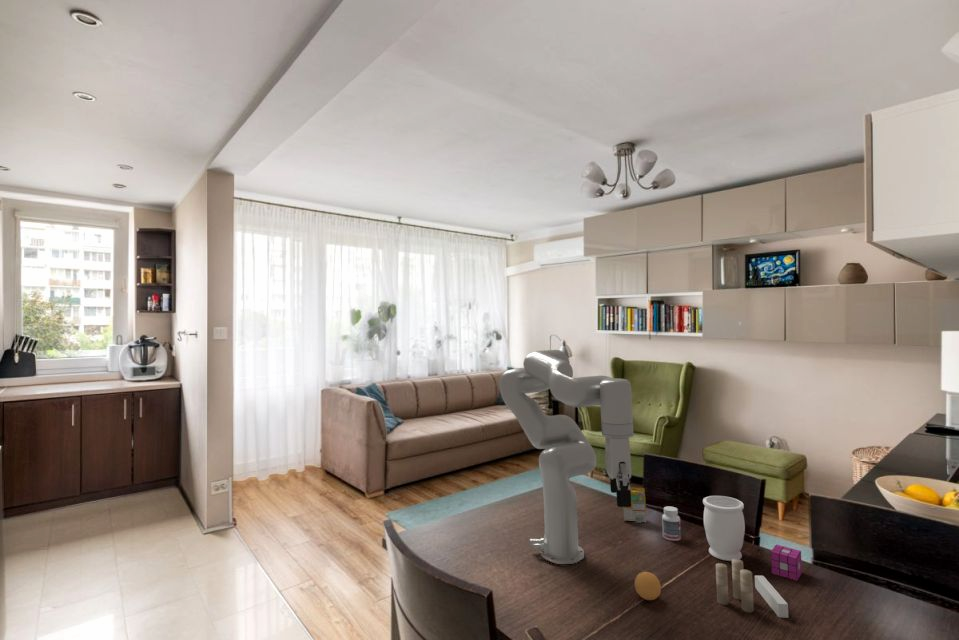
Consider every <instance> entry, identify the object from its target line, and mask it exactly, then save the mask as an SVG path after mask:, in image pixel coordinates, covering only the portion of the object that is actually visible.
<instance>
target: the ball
mask: <svg viewBox="0 0 959 640" xmlns="http://www.w3.org/2000/svg"><path fill="white" fill-rule="evenodd" d="M634 588H635V591H636V593H637V594H638V595H639V596H640V598H642V599H643V600H646V601H654V600H656V599H658V598H659V596H660V594H661V591H662V585H661V582H660V579H659V578H658V577H657V575H655V574H654V573H652V572H649V571H642V572H640V573H638V574H637V575H636V577H635V579H634Z"/></svg>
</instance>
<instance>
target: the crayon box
mask: <svg viewBox="0 0 959 640" xmlns="http://www.w3.org/2000/svg"><path fill="white" fill-rule="evenodd" d="M630 490H631V507H622V514H623V515H622V516H623V517H622V518H624V519H623V521H624V520H629V521H636V522H635V523H641V522H645V523H644V524H646V523H647V509H646V508H647V506H646V490H645V487H630Z"/></svg>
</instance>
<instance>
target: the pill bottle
mask: <svg viewBox="0 0 959 640" xmlns="http://www.w3.org/2000/svg"><path fill="white" fill-rule="evenodd" d="M678 513H679V509H678V508H677V507H674V506H664V507H663V514H662V516H661V523H662V537H663V539H666V540H667V541H671V542H672V541H673V542H675V541H680V540H682V530H681V529H682V528H681V517H680V516H679V514H678Z"/></svg>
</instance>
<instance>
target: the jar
mask: <svg viewBox="0 0 959 640" xmlns="http://www.w3.org/2000/svg"><path fill="white" fill-rule="evenodd" d="M702 504H703V505H704V508H703V509H704V510H703V527H704V532H705V537H706V540H707V543H708V545H709V546H710V547H709V548H708V553H709V554H710V555H711V556H712V557H714V558H716V559H718V560H722V561H726V562H727V561H728V562H732V559H739V560H741V559H742V557H743V554H742V552H741V550H742V548H743V545H744V540H745V532H746V525H745V516H744V512H743V510H744V508H745V507H744V506H745V505H744V503H743V501H741V500H739V499H737V498H734V497H730V496H725V495H709V496H706V497H703V499H702Z"/></svg>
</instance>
